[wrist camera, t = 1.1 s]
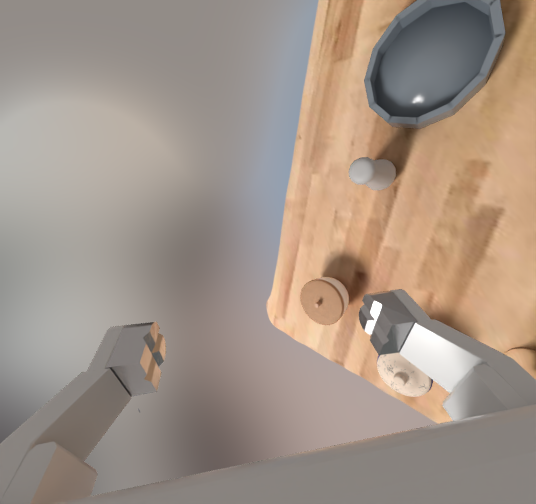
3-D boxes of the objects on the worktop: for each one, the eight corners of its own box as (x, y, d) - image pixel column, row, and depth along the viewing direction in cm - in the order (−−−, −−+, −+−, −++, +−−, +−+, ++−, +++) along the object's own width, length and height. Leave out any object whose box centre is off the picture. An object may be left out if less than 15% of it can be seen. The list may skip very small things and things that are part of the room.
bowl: (436, -22, 37) (434, -39, 35) (538, 34, 32) (543, 20, 29) (353, 92, 48) (346, 86, 46) (417, 149, 43) (414, 145, 40)
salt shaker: (399, 187, 46) (379, 185, 36) (369, 193, 50) (344, 192, 40) (397, 156, 45) (377, 146, 35) (367, 164, 49) (341, 157, 39)
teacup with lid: (398, 369, 52) (383, 404, 44) (381, 330, 53) (364, 357, 44) (464, 371, 44) (461, 413, 36) (443, 325, 45) (436, 355, 36)
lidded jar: (350, 319, 58) (334, 336, 51) (313, 302, 64) (293, 315, 57) (360, 280, 54) (343, 292, 47) (319, 266, 61) (299, 275, 54)
